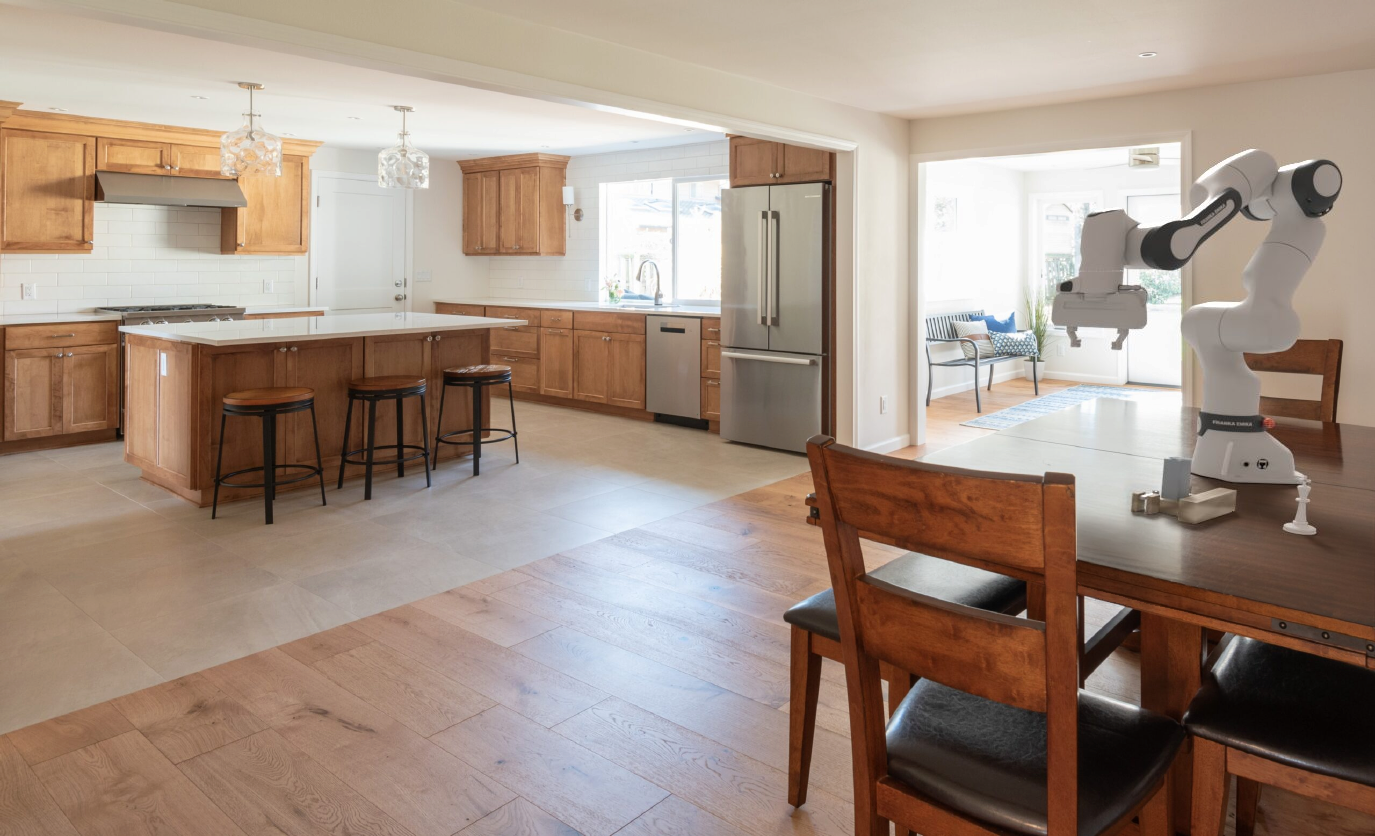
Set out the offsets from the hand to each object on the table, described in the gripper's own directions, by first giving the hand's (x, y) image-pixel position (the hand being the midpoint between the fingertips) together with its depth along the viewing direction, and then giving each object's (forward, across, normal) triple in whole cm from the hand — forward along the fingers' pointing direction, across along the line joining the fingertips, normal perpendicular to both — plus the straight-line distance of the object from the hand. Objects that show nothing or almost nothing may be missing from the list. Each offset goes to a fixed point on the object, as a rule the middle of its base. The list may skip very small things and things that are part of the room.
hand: (1095, 348), depth 193 cm
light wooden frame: (+29, -26, +11) cm, 40 cm away
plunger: (+27, -22, +16) cm, 38 cm away
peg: (+29, -25, +11) cm, 40 cm away
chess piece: (+29, -45, +9) cm, 55 cm away
